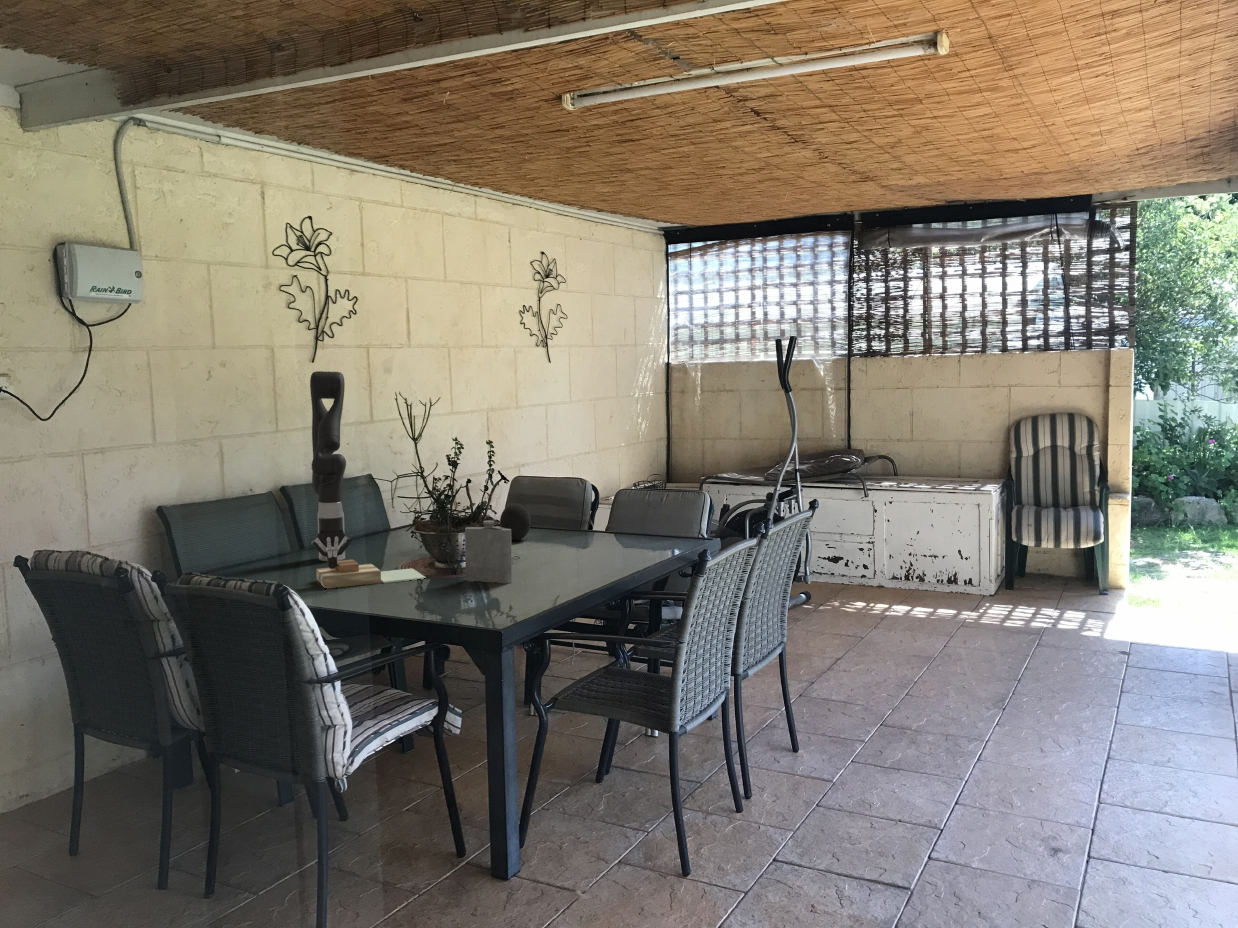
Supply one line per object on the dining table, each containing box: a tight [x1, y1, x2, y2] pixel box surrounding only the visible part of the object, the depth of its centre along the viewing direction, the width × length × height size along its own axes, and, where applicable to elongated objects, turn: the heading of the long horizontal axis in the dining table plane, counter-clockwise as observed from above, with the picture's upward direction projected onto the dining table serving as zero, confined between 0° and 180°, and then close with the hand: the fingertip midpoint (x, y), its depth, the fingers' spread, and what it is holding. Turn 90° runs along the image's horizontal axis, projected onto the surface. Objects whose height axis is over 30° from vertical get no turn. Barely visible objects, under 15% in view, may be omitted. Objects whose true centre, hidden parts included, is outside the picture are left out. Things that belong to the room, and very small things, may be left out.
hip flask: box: [464, 520, 513, 584], centre depth 322 cm, size 16×4×20 cm, turn 75°
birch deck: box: [315, 563, 382, 589], centre depth 323 cm, size 13×18×4 cm
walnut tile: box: [335, 559, 360, 573], centre depth 322 cm, size 8×6×2 cm
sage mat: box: [381, 567, 427, 584], centre depth 331 cm, size 16×14×1 cm
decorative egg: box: [499, 503, 532, 542], centre depth 396 cm, size 12×12×15 cm
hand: (332, 568), depth 320 cm, fingers closed
